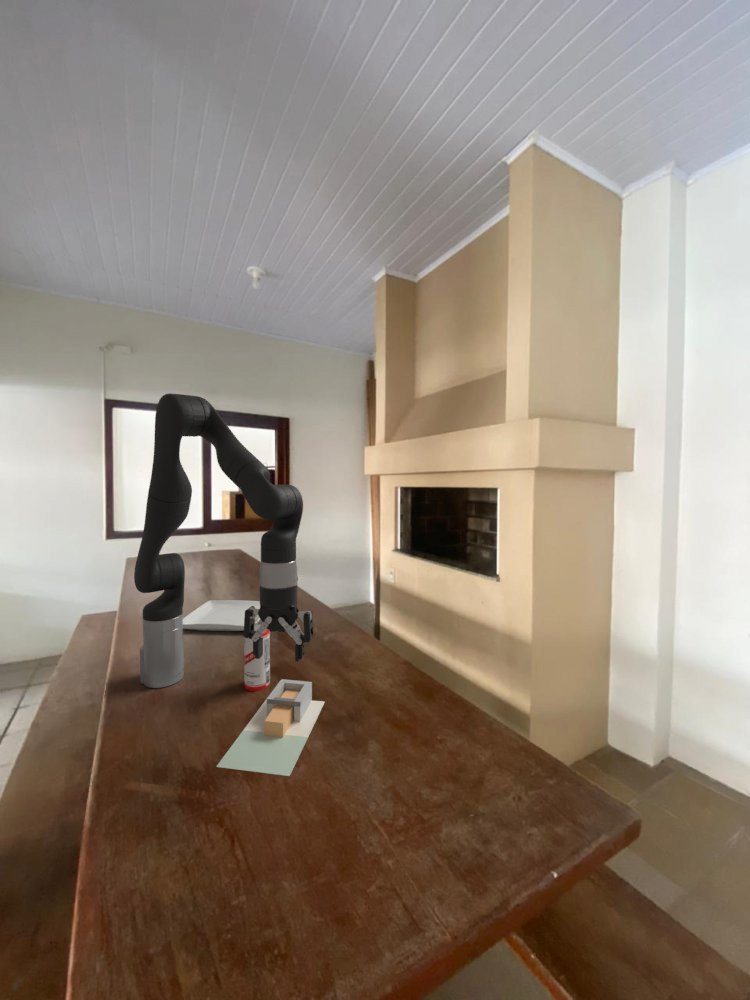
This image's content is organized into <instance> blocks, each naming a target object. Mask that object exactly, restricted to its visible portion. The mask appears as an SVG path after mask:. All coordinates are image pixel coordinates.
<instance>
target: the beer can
mask: <svg viewBox="0 0 750 1000" xmlns="http://www.w3.org/2000/svg"><path fill="white" fill-rule="evenodd" d="M262 623H263V622H258V623H255V625H254V630H255V631H257V630H258V629H259V627H260V626H261V625H262ZM270 637H271V631H270V630H268V629H267V630H266V631H265V632H264V634H263V635H262V636H261V638H263V655H262V657H261V658H260V659H256V658H255V656H254V655H253V641H252V639H250V638H245V637H244V636H243V638H244V639H243V641H244V644H243V645H244V646H243V651H244V652H243V653H244V654H243V655H244V657H243V659H244V663H243V664H244V666H243V667H244V671H243V672H244V673H243V675H244V680H243V681H244V689H245V690H246V691H250V692H259V691H260V692H261V691H262V690H265V689H267V688H268V687H269V686H270V685H271V641H270V639H271V638H270Z"/></svg>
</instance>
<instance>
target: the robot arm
mask: <svg viewBox="0 0 750 1000" xmlns="http://www.w3.org/2000/svg"><path fill="white" fill-rule="evenodd" d="M183 437H194V438H195V437H201V438H203V439H205V440H206V441H207V442H208V443H210V444H211V445H212V446H213V447H214V449H215V454H216V459H217V463H218V466H219V468H220V470H221V471H222V472H223V473H224V475H225V476H226V477H227V478H228V479H229V480H230V481H231V482H233V484H234V485H235V486H236V487H237V488H239V490H240V491H241V492H242V495H243V496H244V497H243V498H244V499H245V500H246V502H247V505H249V508H250V509H251V510H252V512H253V513H254V514H255V515H257V516H258V517H259V518H261V519H263V520H265V521H272V526H271V528H270V529H269V530H268V531H266V532H264V533H263V534H262V536H261V538H260V567H259V601H260V609H256V608H255V607H254V606H251V607H250V608H248V609H247V610H246V611H245V617H244V631H243V638H244V637H245V638H250V639H252V641H253V655H254V656H255V658H256V659H260V658H261V657H262V655H263V638H261V636H262V635H263V634H264V632H265V631H266V630H267V629H268V630H269V631H270V633H271V632H272V633H273V632H274V633H275V632H278V633H279V632H280V633H285V632H287V634H288V636H289V637H291V638H292V639H293V640H294V642H295V645H294V649H295V650H294V660H295V661H294V662H295V663H300V662H301V660H303V658H304V657H305V655H306V654H305V650H306V649H305V645H306V644H305V643H310V642H311V641H312V638H314V636H315V633H314V628H315V627H314V616H313V615H314V614H313V613H314V612H313V610H312V609H307V610H305V611H304V610H299V609H298V580H299V576H298V567H297V565H298V564H297V536H298V533H299V530H300V525H301V520H302V517H303V512H304V501H303V496H302V493H301V491H300V490H299V488H298V487H296V486H294V485H292V484H273V483H271V482H270V478H271V473H270V471H269V469H268V467H266V465H265V464H263V462H262V461H260V460H259V459H258V458H257V457H256V456H255V455H254V454H253V453H252V452H251V451H249V449H248V448H246V447H245V446H244V445H243V443H241V441H240V440H239V439H238V438H237V437H236V435H235V434H234V433H233V431H232V430H231V428H230V427H229V425H227V423H226V422H225V421H224V419H223V418H222V417H221V415H220V413H219V412H218V411H217V410H216V408H215V407H214V406H213V405H212V404H211V403H210V402H209V401H208V400H206V399H205V398H204V397H201V396H198V395H190V394H179V393H166V394H163V395H162V396H161V397H160V398H159V401H158V402H157V406H156V411H155V417H154V444H153V445H154V446H153V457H152V459H153V460H152V469H151V475H150V481H149V486H148V487H149V488H148V492H147V498H146V499H147V500H146V505H145V506H146V508H145V516H144V526H143V532H142V537H141V541H140V545H139V549H138V553H137V557H136V561H135V566H134V573H133V574H134V577H133V580H134V586H135V588H136V590H137V591H138V592H139V593H142V594H150V593H151V594H152V593H155V592H161V591H163V592H162V593H161V595H159V596H158V597H157V598H155V599H153V600H151V601H150V602H148V603H147V604H146V605H144V606H143V609H142V637H143V640H142V641H143V644H142V645H141V646H140V647H139V665H140V667H139V672H140V674H139V675H140V678H139V679H140V684H144V686H145V687H147V688H152V689H160V688H165V687H169V686H172V685H174V684H176V683H178V682H180V681H181V680H182V679H184V676H185V675H184V671H185V669H184V629H183V618H184V615H183V614H184V613H183V610H184V609H183V607H184V603H185V602H184V601H185V582H186V581H185V578H186V577H185V576H186V575H185V574H186V571H185V570H186V569H185V563H184V559H183V557H182V555H180V554H179V553H176V552H171V553H162V554H160V553H161V550H162V548H163V546H164V545H165V544H166V542H167V541H168V539H169V538H171V536H172V535H174V534H175V532H176V531H177V530H178V529H179V528H180V527H181V526H182V524H183V523H184V522H185V520H186V519H187V517H188V514H189V511H190V506H191V501H192V494H193V489H192V488H193V487H192V485H191V481H190V480H189V477H188V475H187V473H186V471H185V469H184V466H183V465H182V463H181V458H180V451H181V450H180V448H181V442H182V438H183ZM257 615H258V616H259V618H260V621H261V623H262V625H261V626H260V627H259V629H258V630H257V631H255V630H254V625H255V618H256V617H257ZM298 618H299V619H300V622H302V623H303V630H301V626H300V625H299V623H298V622H297V620H298ZM303 631H304V632H303Z"/></svg>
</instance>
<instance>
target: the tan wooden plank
mask: <svg viewBox="0 0 750 1000" xmlns="http://www.w3.org/2000/svg"><path fill="white" fill-rule="evenodd" d="M299 692H300V691H295V690H285V692H284V693H283V695H282V696H281V698H288V699H296V697H297V696H298V694H299ZM293 719H294V706H286V705H275V706H274V708H273V709H272V711H271V712H270V714H269V715H268V717H267V718H266V719H265V721H264V735H268V736H277V737H284V735H285V733H286V731H287V730H288V728H289V726H290V724H291V723H292V721H293Z"/></svg>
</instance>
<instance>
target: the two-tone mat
mask: <svg viewBox="0 0 750 1000" xmlns="http://www.w3.org/2000/svg"><path fill="white" fill-rule="evenodd" d="M285 690H295V691H300V692H299V694H298V696H297V697H296V699H288V698H281V696H282V695H283V693H284V692H285ZM325 702H326V701H323V700H313V682H312V681H307V680H296V679H295V680H293V679H283V678H281V679H280V680H279V682H277V684H276V686H275V687H274V688H273V689H272V691H271V692H270V694H269V695H268V696H267V697H266V699H265V700H264V702H262V704H261V706H260V707H259V708H258V710H257V711H256V713H255V714H253V717H251V719H250V721H249V722H248V723H247V724H246V725H245V727H244V728H243V730H242V731H241V732H240V734H239V735H238V737H236V739H235V741H233V743H232V744H231V746H230V748H229V749H228V750H227V752H226V753H225V754H224V756H223V757H222V758H221V759H220V760H219V762H218V764H217V765H216V766H215V767H216V768H220V769H221V768H222V769H230V770H236V771H238V770H239V771H243V772H245V771H247V772H252V773H260V774H261V773H262V774H268V775H276V776H284V777H285V776H286V777H290V776H291V775H292V772H293V770H294V769H295V766H296V764H297V761H298V759H299V757H300V756H301V753H302V751H303V749H304V747H305V744H306V743H307V741H308V739H309V736H310V734H311V732H312V730H313V728H314V725H315V724H316V722H317V720H318V718H319V716H320V713H321V712H322V708H323V707H324V705H325ZM275 705H286V706H294V719H293V721H292V723H291V724H290V726H289V728H288V730H287V731H286V733H285V735H284V737H277V736H268V735H264V721H265V719H266V718H267V717H268V715H269V714H270V712H271V711H272V709H273V708H274V706H275Z"/></svg>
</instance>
